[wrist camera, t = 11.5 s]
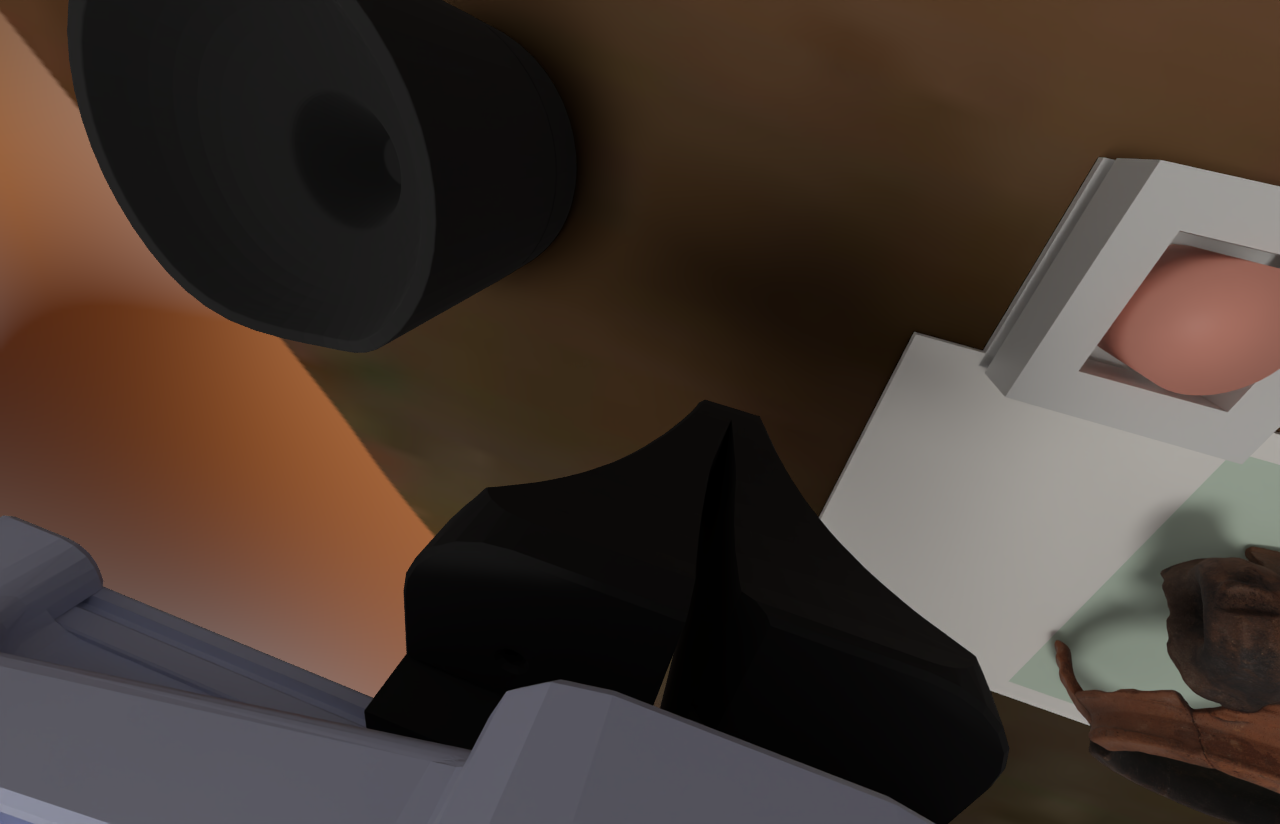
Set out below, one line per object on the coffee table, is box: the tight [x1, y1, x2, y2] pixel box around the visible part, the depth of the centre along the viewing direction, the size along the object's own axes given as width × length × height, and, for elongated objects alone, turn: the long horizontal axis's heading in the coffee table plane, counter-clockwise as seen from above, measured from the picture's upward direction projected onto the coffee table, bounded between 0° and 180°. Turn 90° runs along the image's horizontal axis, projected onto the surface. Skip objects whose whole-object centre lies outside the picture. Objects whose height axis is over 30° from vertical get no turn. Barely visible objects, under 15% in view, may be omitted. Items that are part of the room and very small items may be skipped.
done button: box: [1097, 244, 1280, 395], centre depth 15 cm, size 4×4×3 cm
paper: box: [819, 332, 1280, 725], centre depth 21 cm, size 16×26×1 cm, turn 78°
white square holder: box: [979, 157, 1280, 464], centre depth 15 cm, size 7×7×3 cm
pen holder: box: [67, 0, 577, 353], centre depth 16 cm, size 9×9×10 cm
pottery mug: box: [1055, 547, 1280, 824], centre depth 19 cm, size 12×10×8 cm
